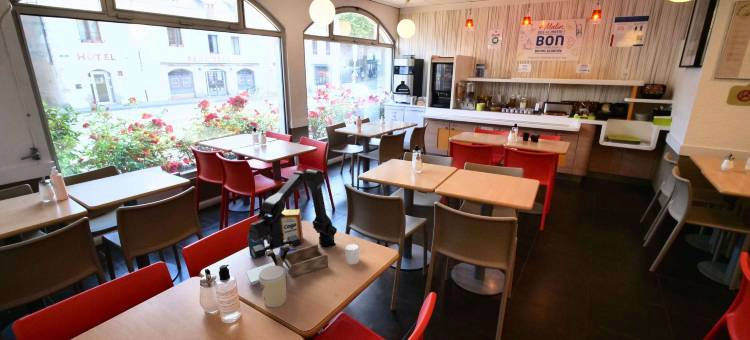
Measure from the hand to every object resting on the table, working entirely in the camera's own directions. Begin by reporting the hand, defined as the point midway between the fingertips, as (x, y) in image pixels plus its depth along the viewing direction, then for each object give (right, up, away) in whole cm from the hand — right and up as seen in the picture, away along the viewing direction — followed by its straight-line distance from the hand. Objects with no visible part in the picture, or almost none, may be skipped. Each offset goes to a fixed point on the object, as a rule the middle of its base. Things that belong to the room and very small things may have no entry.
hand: (279, 264), depth 143 cm
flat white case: (-4, -2, -2) cm, 5 cm away
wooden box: (+10, -3, +7) cm, 12 cm away
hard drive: (-1, -2, +16) cm, 16 cm away
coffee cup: (+3, -10, -14) cm, 17 cm away
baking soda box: (-1, +3, +30) cm, 30 cm away
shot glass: (+30, -2, +11) cm, 32 cm away
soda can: (-15, -1, +18) cm, 23 cm away
